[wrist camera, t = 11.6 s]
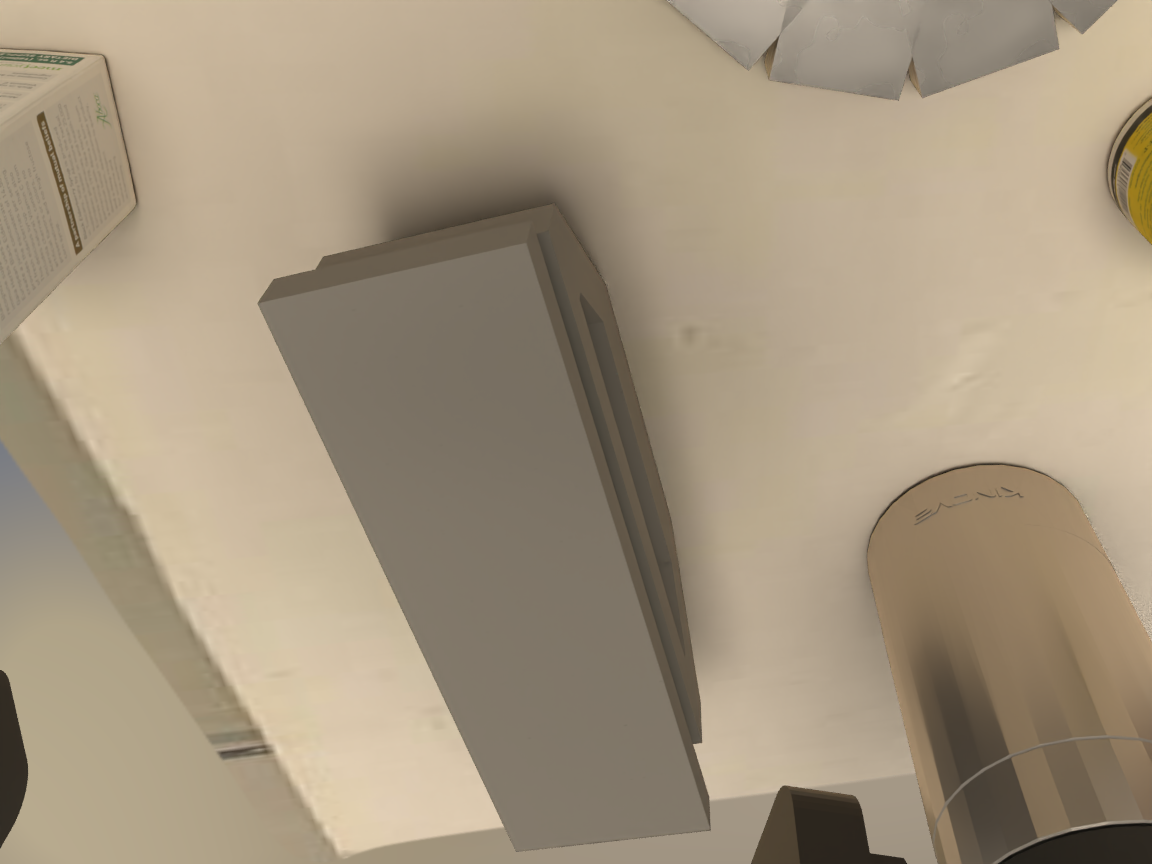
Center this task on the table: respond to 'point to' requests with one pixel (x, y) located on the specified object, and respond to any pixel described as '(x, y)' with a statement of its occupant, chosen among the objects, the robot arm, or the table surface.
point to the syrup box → (55, 172)
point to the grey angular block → (512, 513)
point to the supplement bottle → (1134, 170)
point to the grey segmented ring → (886, 38)
